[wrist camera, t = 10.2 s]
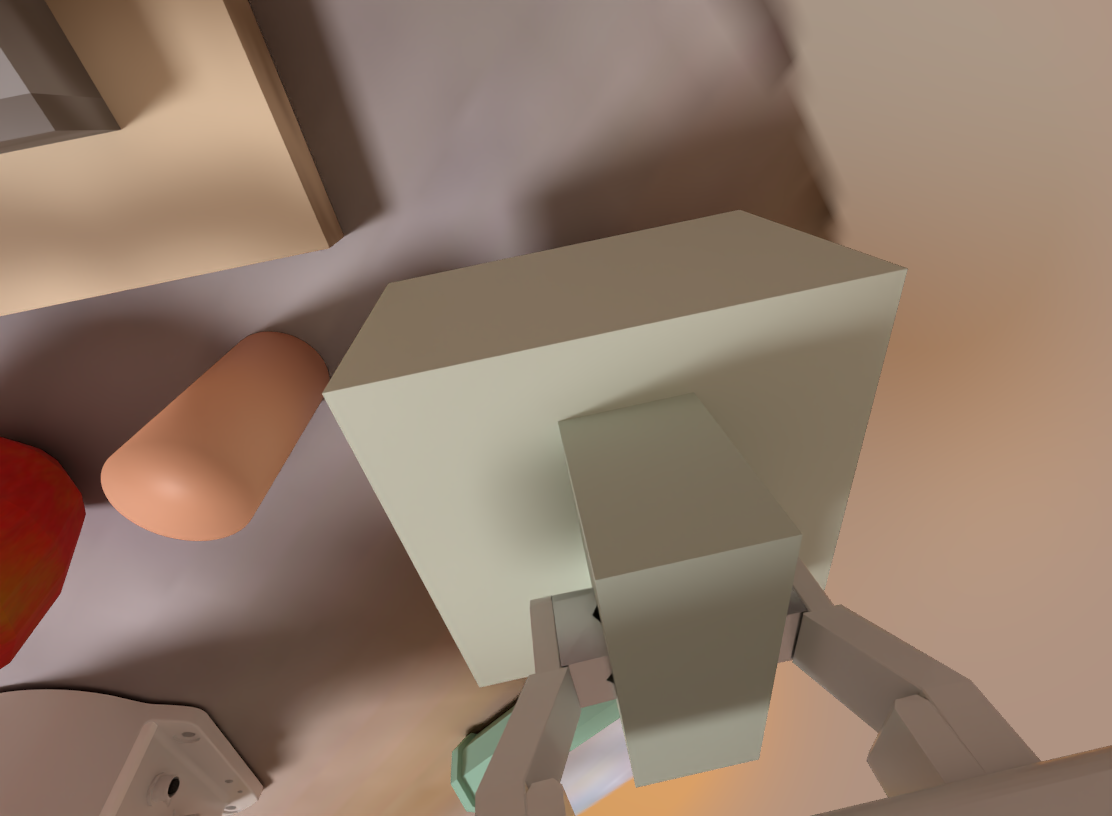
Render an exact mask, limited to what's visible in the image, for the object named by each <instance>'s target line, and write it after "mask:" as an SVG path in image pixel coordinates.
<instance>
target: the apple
mask: <svg viewBox="0 0 1112 816" xmlns="http://www.w3.org/2000/svg"><path fill="white" fill-rule="evenodd" d="M85 515H86V512H85V508H84V503H83V499H82V494H81V492H80V491H79V490H78V488H77V487H76V485H75V484H74V482H73V481H72V480H71V478H70V477H69V475H68V474H67V472H66V471H65V470H64V469H63V467H62V466H61V465H60V463H59V462H58V461H57V460H56V459H55V458H53V457H52V456H50V455H49V454H47V453H46V452H44V451H43V450H41V449H39V448H36V447H33V446H30V445H26V444H23V443H20V442H17V441H13V440H10V439H6V438H3V437H0V669H1V668H3V667H4V666H6V665H7V664H9V663H10V662H11V661H12V659H13V658H14V657H15V655H16V654H17V652H18V651H19V650H20V648H21V647H22V646H23V644H24V643H25V641H26V640H27V639H28V637H29V636H30V635H31V633H32V632H33V630H34V629H35V628H36V626H37V625H38V624H39V622H40V621H41V619H42V618H43V617H44V615H45V614H46V613H47V611H48V610H49V609H50V607H51V606H52V604H53V603H54V602H55V600H56V599H57V598H58V596H59V595H60V593H61V590H62V587H63V584H64V581H65V578H66V575H67V572H68V569H69V566H70V563H71V559H72V556H73V553H74V550H75V547H76V544H77V541H78V538H79V535H80V532H81V528H82V525H83V522H84V518H85Z"/></svg>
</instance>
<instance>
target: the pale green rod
mask: <svg viewBox="0 0 1112 816" xmlns="http://www.w3.org/2000/svg"><path fill="white" fill-rule="evenodd" d="M514 707H515V705H514V706H513V707H512V708H510V709H509V710H508V711H507V712H505V713H504V714H503V715H501V716H500V717H499V718H498V719H496V720H495V721H494V722H492V723H491V724H490V725H488V726H487V727H486V728H485V729H483V730H482V731H481V732H479V733H478V734H474V733H470V734H469V735H468V736H466V737H465V738H464V739H463V740H462V742H461V743H460V744H459V745H458V746H457V747H456V748H455V749H454V750H453V751H452V767H451V785H452V787H453V789H454V790H455V792H456V794H457V796H458V797H459V799H460V801H461V803H462V804H463V806H464V808H465V810H466V811H468V812H475V793H476V791H477V789H478V787H479V784H480V782H481V780H482V778H483V776H484V773H485V771H486V769H487V767H488V764H489V762H490V760H491V758H492V756H493V753H494V751H495V749H496V747H497V745H498V742H499V740H500V738H501V736H502V734H503V731H504V729H505V727H506V725H507V722H508V720H509V718H510V716H511V714H512V711H513V709H514ZM618 718H620V714H619V710H618V706H617V701H616V699H614V700H610V701H607V702H603V703H599V704H595V705H591V706H587V707H583V708H581V714H580V717H579V721H578V724H577V727H576V731H575V734H574V737H573V741H572V744H571V748H570V751H572V750H573V749H575V748H576V747H577V746H579V745H580V744H582V743H583V742H585V741H586V740H588V739H589V738H591V737H592V736H594V735H595V734H597V733H598V732H599V731H601V730H602V729H604V728H605V727H607V726H608V725H610V724H611V723H613V722H614V721H616V720H617V719H618ZM570 751H569V752H570Z"/></svg>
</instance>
